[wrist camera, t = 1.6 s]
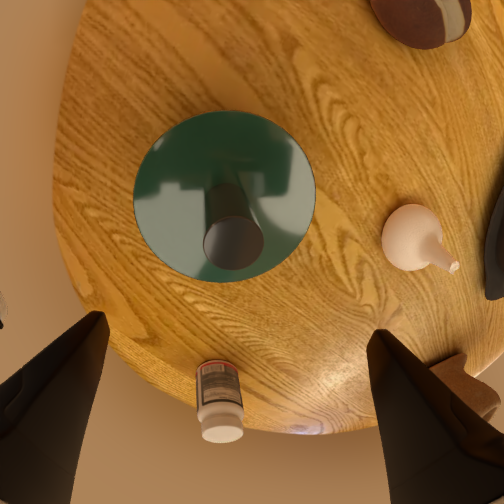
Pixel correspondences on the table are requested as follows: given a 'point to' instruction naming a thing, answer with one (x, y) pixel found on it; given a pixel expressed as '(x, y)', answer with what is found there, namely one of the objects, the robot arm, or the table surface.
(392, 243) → the garlic bulb
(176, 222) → the lid
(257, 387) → the table surface
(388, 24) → the bread
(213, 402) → the pill bottle
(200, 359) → the table surface
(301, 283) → the table surface
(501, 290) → the casserole
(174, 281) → the table surface
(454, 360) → the stone cup
